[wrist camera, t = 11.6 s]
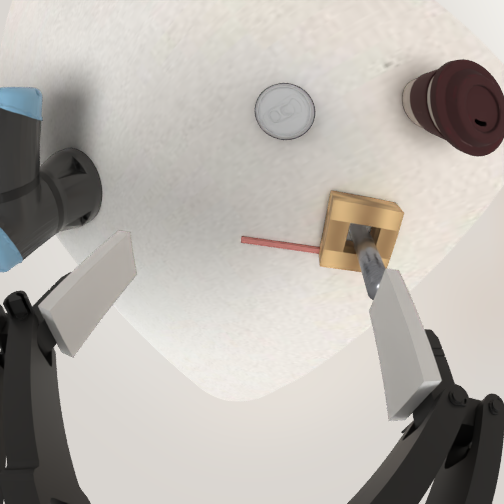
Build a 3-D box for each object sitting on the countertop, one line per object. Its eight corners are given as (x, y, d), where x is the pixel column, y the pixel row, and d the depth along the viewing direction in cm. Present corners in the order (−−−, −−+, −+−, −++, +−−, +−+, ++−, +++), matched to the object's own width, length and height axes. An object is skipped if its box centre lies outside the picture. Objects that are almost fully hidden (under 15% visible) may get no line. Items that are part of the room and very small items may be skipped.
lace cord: (241, 240, 43) (241, 242, 43) (242, 236, 43) (241, 237, 43) (318, 251, 42) (319, 253, 42) (319, 247, 42) (320, 249, 41)
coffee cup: (413, 56, 25) (469, 38, 12) (462, 103, 26) (527, 114, 14) (379, 105, 30) (425, 107, 17) (430, 151, 31) (488, 180, 18)
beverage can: (318, 120, 33) (326, 126, 22) (279, 137, 35) (271, 151, 25) (297, 83, 31) (297, 71, 20) (259, 101, 33) (241, 99, 22)
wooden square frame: (318, 252, 42) (319, 266, 39) (330, 190, 37) (333, 199, 34) (378, 261, 41) (384, 275, 38) (395, 202, 36) (404, 212, 33)
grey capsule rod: (346, 235, 40) (364, 299, 27) (350, 218, 39) (372, 277, 26) (364, 238, 40) (387, 302, 27) (368, 221, 38) (396, 280, 26)
